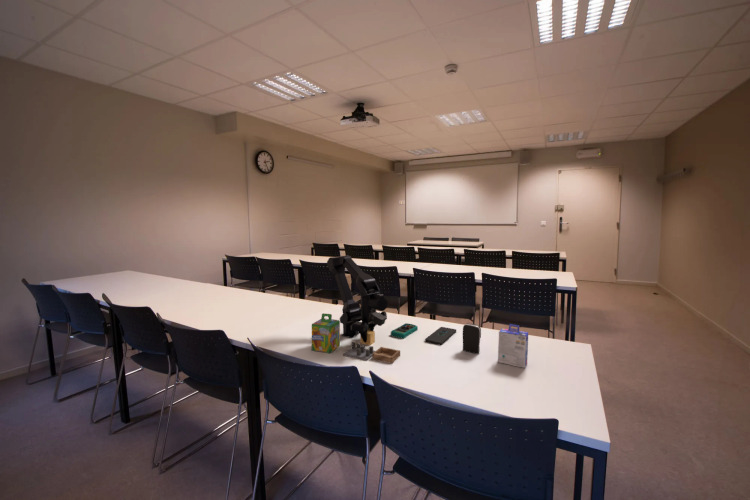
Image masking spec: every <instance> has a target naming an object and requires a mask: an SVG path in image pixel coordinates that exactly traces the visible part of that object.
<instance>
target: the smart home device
mask: <svg viewBox="0 0 750 500" xmlns="http://www.w3.org/2000/svg"><path fill="white" fill-rule="evenodd" d="M456 333H457V329H455V328H450V327H444V326H440V327H438V329H436V330H435V331H434V332H432V333H431V334H429V336H427V337H426V338H424V342H425V343H429V344H434V345H438V346H442V345H444V344H445V343H446V342H447V341H448V340H449V339H450V338H452V336H454V335H455V334H456Z"/></svg>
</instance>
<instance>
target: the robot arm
mask: <svg viewBox="0 0 750 500" xmlns="http://www.w3.org/2000/svg"><path fill="white" fill-rule="evenodd" d="M326 265H327V267H328V270H329V271H330V273H331V274H332V275H333V276H334V278H335V281H336V284H337V287H338V290H339V293H340V296H341V300H342V302H343V305H342V314H341V315H340V316H339V321H340V324H342V330H343V331H342V333H340V337H341V336H342V337H347V338H350V339H351V338H354V337H356V336H358V335H361V337H362V339H363V341H364V342H367V334H368V331H369V330H370V331H374V329H375V327H376V326H379V327H381V326H383V325H384V324H385V323H386V320H388V316H387V312H386V311H385V310H386V309H387V307H388V304H389V303H388V299H386V297H385V294H383V293H381V289H380V288H379V285H378V283H377V281H376V279H375V278H374V277H373V276H371V274H369V273H366V272H364V271H363V270H362V268H361V267H359V266H358V264H357V263H356V262H355V261H354V260H353V258H352V256H350V255H340V256H333V257H332V256H331V257H329V258H328V259H327V261H326ZM346 270H347V272H349V274H350V275H351V276H352V277H353V279H354V280H355V285H356V287H357V289H358V290H359V292H358V293H357V295H359V296H360V302H359V301H357V302H356V301H355V299H354V297H353V293H352V290H351V288H350V285H349V281H348V279H347V276H346V275H347V274H346ZM377 311H379V312H377Z"/></svg>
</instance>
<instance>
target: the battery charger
mask: <svg viewBox="0 0 750 500" xmlns="http://www.w3.org/2000/svg"><path fill="white" fill-rule="evenodd" d="M481 338H482V328H481V326H480V325H479V324H474V323H469V322H468V323H465V324H464V325H463V326H462V352H463V351H464V352H466V353H471V354H477V355H479V354H480V350H481V349H480V348H481V347H480V344H481Z"/></svg>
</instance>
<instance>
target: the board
mask: <svg viewBox="0 0 750 500" xmlns="http://www.w3.org/2000/svg"><path fill="white" fill-rule="evenodd" d="M375 351H376V350H374V346H372V345H369V348H365V345H362V344H361V343H357V344H356V341H352V342H351V348H349V349H347V350H346V351H345V352H343V354H342V356H345V357H350V358H352V359H353V358H354V359H359V360H364V361H366V362H367V361H368V360H370V359H371V358H372V354H373V353H374V352H375Z"/></svg>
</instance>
